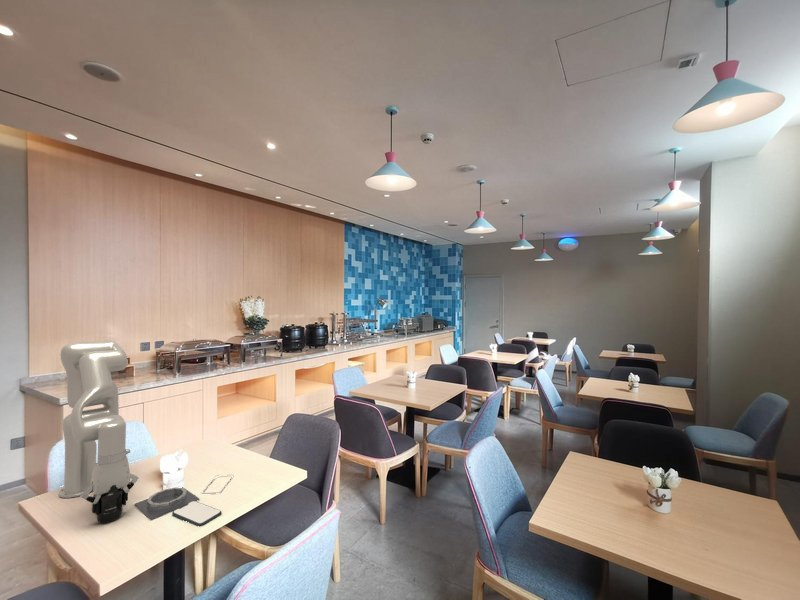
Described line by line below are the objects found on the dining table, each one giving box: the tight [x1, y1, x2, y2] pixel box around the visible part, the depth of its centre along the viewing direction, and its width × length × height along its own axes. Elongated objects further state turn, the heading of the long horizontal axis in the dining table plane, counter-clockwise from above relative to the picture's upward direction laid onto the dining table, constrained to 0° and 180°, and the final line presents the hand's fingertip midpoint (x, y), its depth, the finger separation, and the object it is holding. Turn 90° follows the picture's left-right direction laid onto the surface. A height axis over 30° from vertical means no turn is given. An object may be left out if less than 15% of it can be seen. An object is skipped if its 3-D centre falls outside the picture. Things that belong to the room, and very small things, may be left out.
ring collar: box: [134, 486, 200, 521], centre depth 133 cm, size 16×16×3 cm
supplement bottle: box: [96, 485, 124, 524], centre depth 123 cm, size 7×7×12 cm
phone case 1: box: [171, 501, 222, 527], centre depth 125 cm, size 9×2×16 cm
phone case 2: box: [200, 473, 234, 495], centre depth 146 cm, size 7×1×15 cm
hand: (110, 508), depth 123 cm, fingers closed on supplement bottle, 6 cm apart
